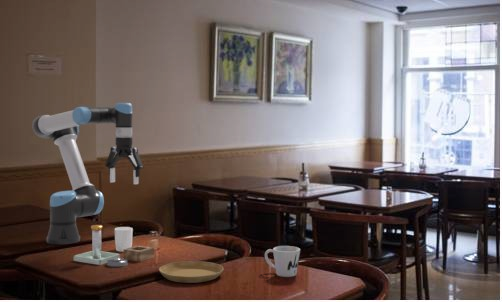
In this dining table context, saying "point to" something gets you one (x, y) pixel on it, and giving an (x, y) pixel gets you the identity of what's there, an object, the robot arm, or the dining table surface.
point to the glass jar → (96, 241)
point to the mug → (284, 260)
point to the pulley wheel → (117, 262)
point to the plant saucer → (191, 271)
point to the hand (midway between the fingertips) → (124, 183)
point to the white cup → (123, 238)
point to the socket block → (138, 253)
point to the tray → (88, 259)
